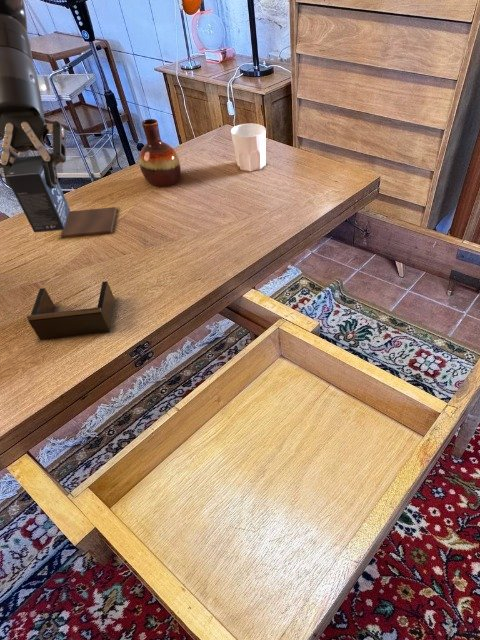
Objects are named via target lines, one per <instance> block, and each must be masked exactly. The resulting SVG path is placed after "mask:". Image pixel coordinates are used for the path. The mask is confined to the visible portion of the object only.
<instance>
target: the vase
mask: <svg viewBox="0 0 480 640" xmlns="http://www.w3.org/2000/svg"><path fill="white" fill-rule="evenodd" d="M141 126H142V129H143V132H144V135H145V139H146V144H145V145H144V146H143V147H142V148H141V150H140V152H139V157H138V163H139V165H138V166H139V168H140V171H141V173H142V175H143V177H144V179H145V180H146V182H147V183H148V184H150V185H152V187H153V186H154V187H156V188H163V187H164V188H167V187H169V186H172V185H174V184H176V183H177V182H178V181H179V179H180V177H181V171H182V170H181V162H180V158H179V155H178V154H177V151H176V150H175V149H174V148H173V147H172V146H171V145H170V144H168V143H166V142H165V141H162V138H161V133H160V128H159V123H158V120H157V119H154V118H148V119H144V120H142V121H141Z"/></svg>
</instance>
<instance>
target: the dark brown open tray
mask: <svg viewBox="0 0 480 640" xmlns="http://www.w3.org/2000/svg"><path fill="white" fill-rule="evenodd" d="M115 304H116V298H115V296H114V293H113V291H112V289H111V287H110V284H109V282H108V281H107V280H105V281H102V283H101V288H100V292H99V298H98V302H97V306H96V307H91V308H83V309H73V310H65V311H56V305H55V303H54V301H53V299H52V298H51V296H50V294H49V293H48V292H47V289H46V287H41V288H39V289H38V293H37V296H36V299H35V301H34V305H33V307H32V311H31V313H30V315H29V314H28V315H26V320H27V321H28V324H29V325H30V327H31V328H32V330H33V331H34V333H35V334H36V336H37V337H38V339H39V341H46V340H54V339H63V338H73V337H79V336H80V337H81V336H89V335H98V334H106V333H111V328H112V324H113V323H112V322H113V316H114V311H115ZM55 311H56V312H55Z"/></svg>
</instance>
